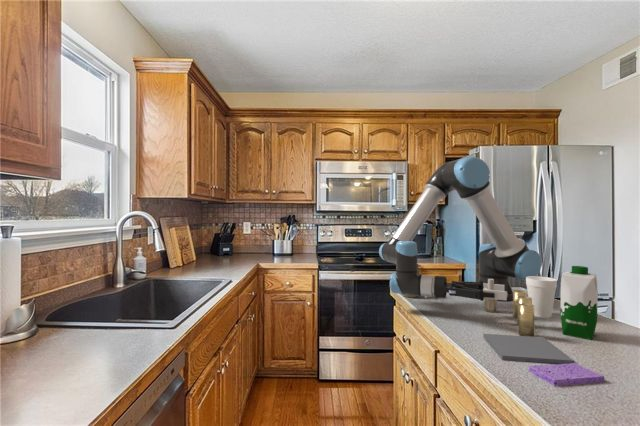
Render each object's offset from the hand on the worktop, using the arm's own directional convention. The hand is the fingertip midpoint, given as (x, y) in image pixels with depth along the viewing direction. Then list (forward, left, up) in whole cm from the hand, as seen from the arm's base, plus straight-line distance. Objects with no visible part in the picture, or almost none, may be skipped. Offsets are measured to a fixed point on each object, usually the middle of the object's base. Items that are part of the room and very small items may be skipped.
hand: (505, 292), depth 114 cm
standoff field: (-3, -2, -10) cm, 11 cm away
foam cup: (-16, -13, -10) cm, 23 cm away
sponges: (0, +38, -11) cm, 39 cm away
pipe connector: (+4, -1, -6) cm, 8 cm away
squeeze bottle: (+27, -33, -10) cm, 44 cm away
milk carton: (-18, +7, -10) cm, 22 cm away
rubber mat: (+3, +23, -10) cm, 25 cm away
